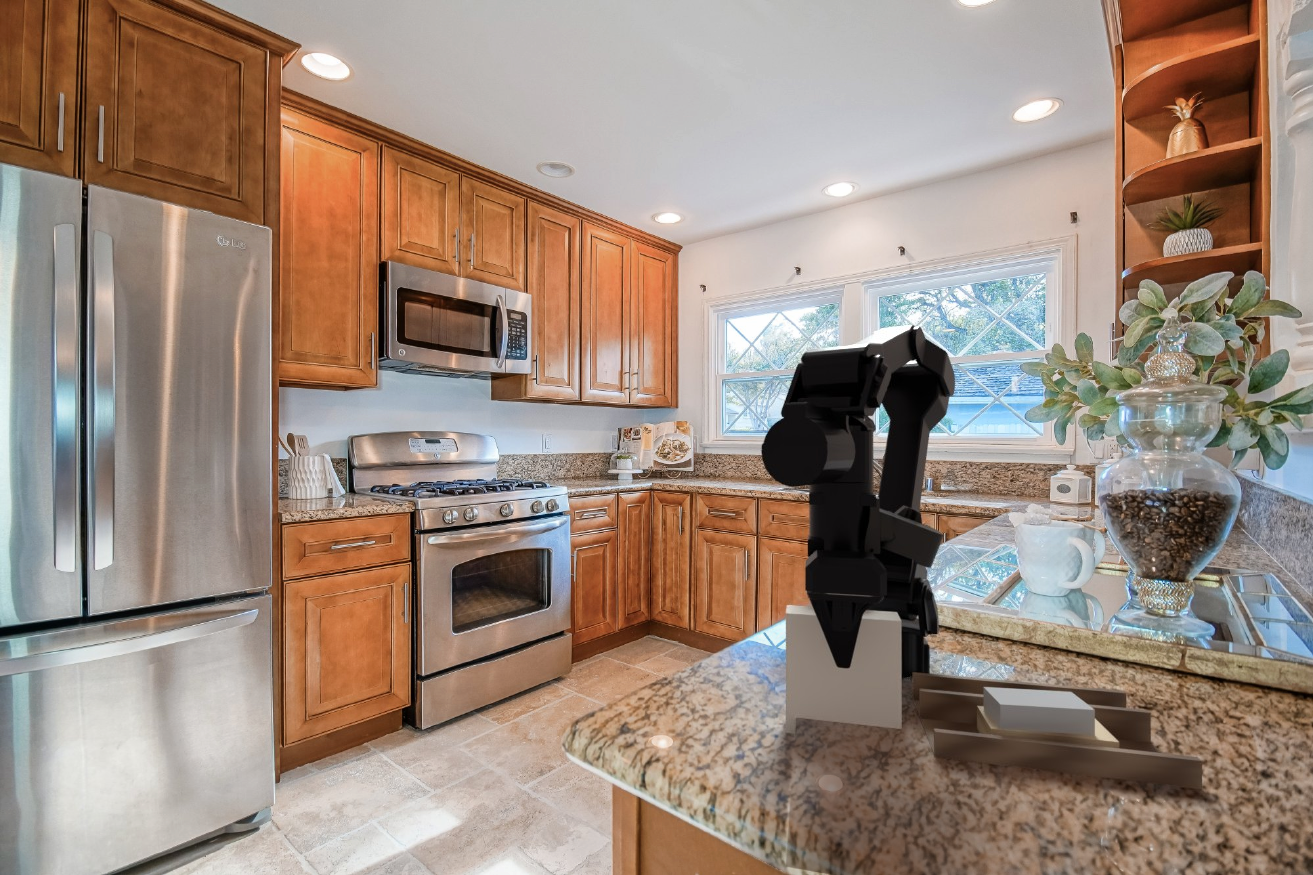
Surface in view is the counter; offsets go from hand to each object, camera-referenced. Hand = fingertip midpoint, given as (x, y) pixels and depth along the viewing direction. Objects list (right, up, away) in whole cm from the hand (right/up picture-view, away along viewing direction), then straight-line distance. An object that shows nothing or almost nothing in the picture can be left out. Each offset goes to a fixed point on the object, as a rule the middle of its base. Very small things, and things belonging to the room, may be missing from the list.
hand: (841, 649), depth 57 cm
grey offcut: (+15, -4, -6) cm, 16 cm away
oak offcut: (+15, -6, -6) cm, 17 cm away
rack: (+16, -8, -3) cm, 18 cm away
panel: (0, -8, 0) cm, 8 cm away
